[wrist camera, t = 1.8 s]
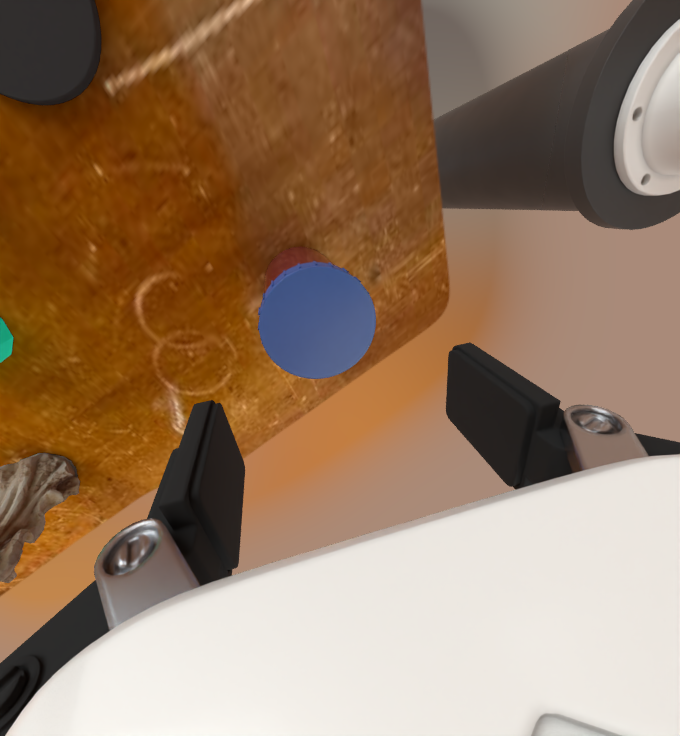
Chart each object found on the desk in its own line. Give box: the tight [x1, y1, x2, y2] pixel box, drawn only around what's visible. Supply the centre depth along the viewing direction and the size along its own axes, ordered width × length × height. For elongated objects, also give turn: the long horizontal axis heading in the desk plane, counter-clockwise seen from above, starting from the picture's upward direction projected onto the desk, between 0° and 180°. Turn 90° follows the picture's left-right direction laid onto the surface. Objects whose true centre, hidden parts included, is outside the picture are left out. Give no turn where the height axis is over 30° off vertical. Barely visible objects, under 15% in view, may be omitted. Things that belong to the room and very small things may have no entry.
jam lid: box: [258, 261, 376, 379], centre depth 18 cm, size 7×7×2 cm
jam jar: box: [264, 247, 334, 293], centre depth 23 cm, size 6×6×10 cm
